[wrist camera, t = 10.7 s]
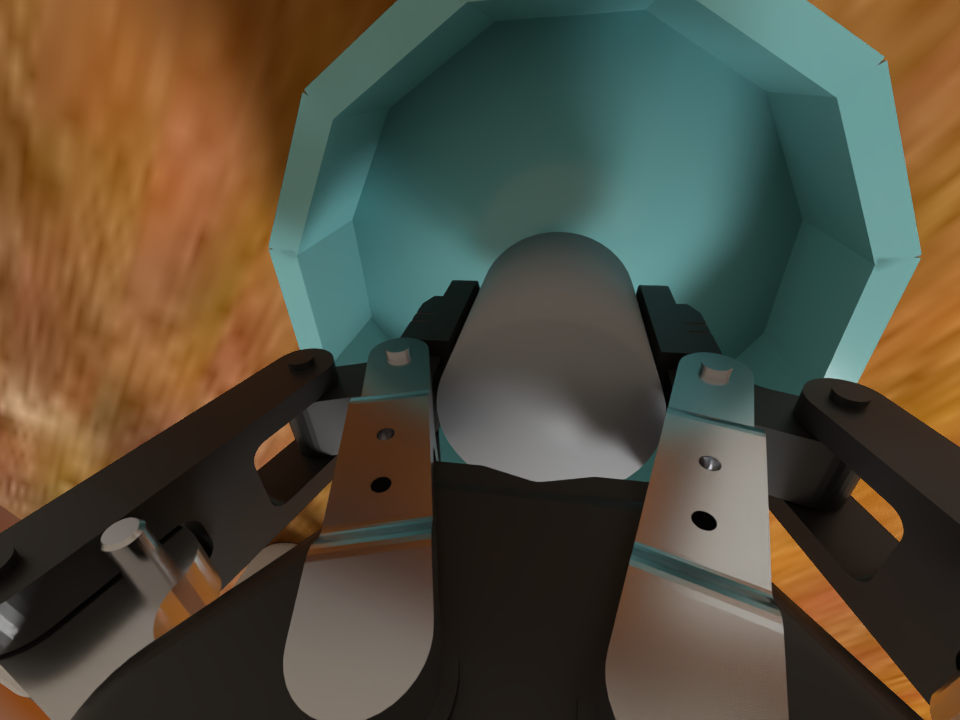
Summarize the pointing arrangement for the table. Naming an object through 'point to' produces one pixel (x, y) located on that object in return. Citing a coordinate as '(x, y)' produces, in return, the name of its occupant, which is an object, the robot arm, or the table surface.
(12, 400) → the table surface
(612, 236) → the bowl
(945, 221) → the table surface
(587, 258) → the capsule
